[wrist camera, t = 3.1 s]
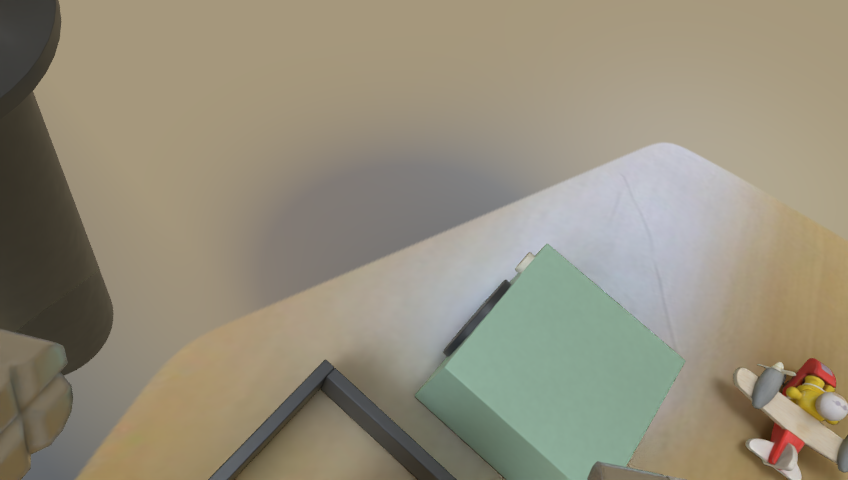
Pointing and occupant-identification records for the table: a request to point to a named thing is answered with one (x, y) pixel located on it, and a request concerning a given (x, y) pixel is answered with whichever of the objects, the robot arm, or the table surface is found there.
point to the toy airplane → (796, 414)
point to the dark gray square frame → (357, 407)
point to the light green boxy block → (551, 375)
